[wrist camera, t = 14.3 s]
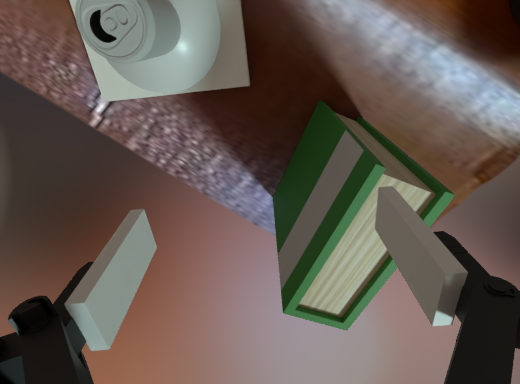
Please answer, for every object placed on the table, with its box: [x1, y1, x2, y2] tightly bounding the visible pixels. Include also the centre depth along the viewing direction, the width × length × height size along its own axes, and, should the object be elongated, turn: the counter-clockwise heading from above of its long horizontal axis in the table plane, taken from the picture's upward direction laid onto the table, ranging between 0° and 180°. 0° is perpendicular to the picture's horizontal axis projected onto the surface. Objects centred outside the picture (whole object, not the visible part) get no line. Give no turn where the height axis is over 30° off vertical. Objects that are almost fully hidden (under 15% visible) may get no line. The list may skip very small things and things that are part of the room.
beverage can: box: [75, 0, 181, 64], centre depth 30 cm, size 6×6×12 cm
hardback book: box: [273, 100, 455, 330], centre depth 38 cm, size 18×7×24 cm, turn 158°
